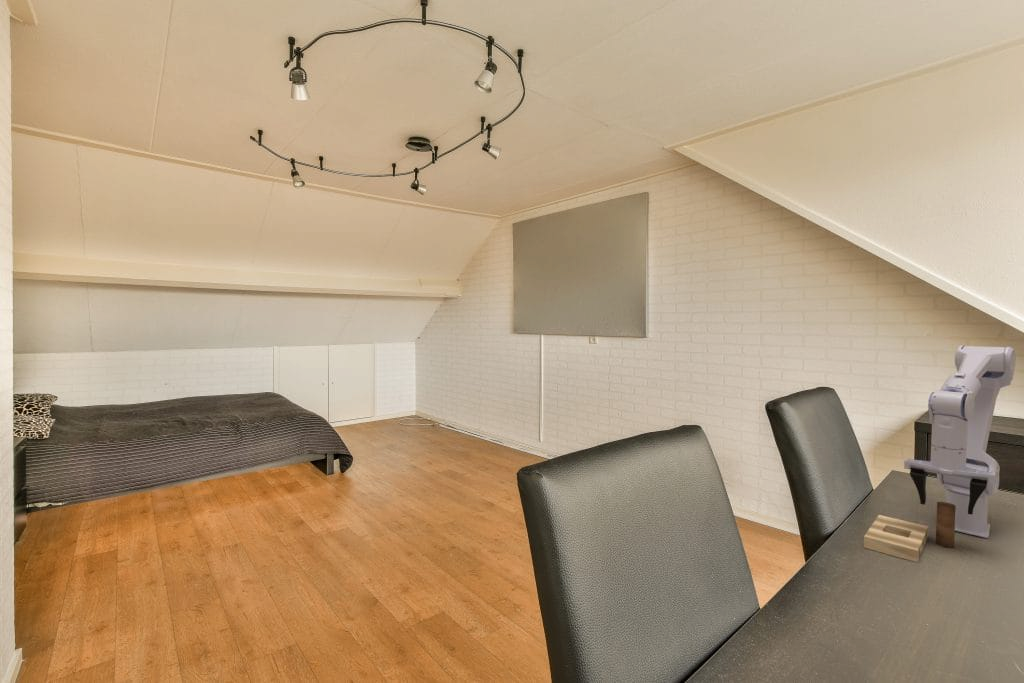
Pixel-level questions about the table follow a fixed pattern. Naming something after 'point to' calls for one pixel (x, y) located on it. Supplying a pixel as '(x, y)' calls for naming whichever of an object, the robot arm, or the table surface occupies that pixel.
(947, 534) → the peg
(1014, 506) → the table surface
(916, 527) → the socket block
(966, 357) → the robot arm
